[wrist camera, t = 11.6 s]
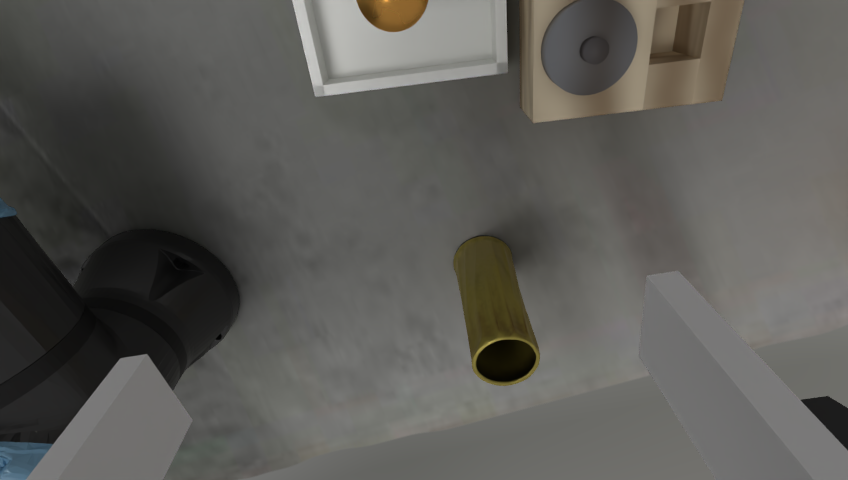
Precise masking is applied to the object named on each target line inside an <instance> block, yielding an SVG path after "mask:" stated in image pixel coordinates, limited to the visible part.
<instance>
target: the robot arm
mask: <svg viewBox="0 0 848 480" xmlns="http://www.w3.org/2000/svg"><path fill="white" fill-rule="evenodd" d="M16 214H17V212H16V210H15V209H14V208H13V207H10V206H7V204H6V203H5V202H4V201H3V200H2V199H1V198H0V480H163V478H164V476H165V474H166V472H167V470H168V468H169V466H170V464H171V462H172V460H173V458H174V456H175V454H176V452H177V450H178V448H179V446H180V444H181V442H182V440H183V438H184V436H185V434H186V432H187V430H188V428H189V426H190V424H191V423H192V421H193V420H192V419H191V417H190V416H189V414H188V413H187V411H186V410H185V408H184V407H183V405H182V404H181V403H180V401H179V400H178V398H177V397H176V395H175V394H174V392H173V390H174V388H175V386H176V384H177V383H178V381H179V379H180V378H181V376H182V374H183V373H184V371H185V370H186V369H187V368H188V367H190V366H191V365H192V364H193V363H195V362H196V361H197V360H198V359H199V358H201V357H202V356H203V355H204V354H206V353H207V352H208V351H209V350H210V349H211V348H213V347H214V346H216V345H217V344H218V343H219V342H220V341H221V340H222V339H223V338H224V337H225V335H226V334H227V333H228V331H229V329H230V327H231V326H232V324H233V322H234V320H235V318H236V316H237V313H238V309H239V295H238V290H237V287H236V285H235V282H234V280H233V278H232V276H231V275H230V273H229V272H228V270H227V269H226V268H225V267H224V265H223V264H222V263H221V262H220V261H219V260H218V259H217V258H216V257H215V256H214V255H212V254H211V253H210V252H208V251H207V250H206V249H204V248H203V247H201V246H199V245H198V244H196V243H194V242H192V241H190V240H188V239H186V238H183V237H181V236H178V235H175V234H171V233H167V232H163V231H156V230H134V231H129V232H124V233H121V234H119V235H116V236H114V237H112V238H111V239H109V240H108V241H106V242H105V243H104V244H103V245H101V246H100V247H99V248H98V249H97V250H95V251H94V252H93V253H92V254H91V255H90V256H89V257H88V258H87V260H86V261H85V262H84V264H83V266H82V268H81V271H80V273H79V276H78V279H77V281H76V283H75V285H74V287H72V286H71V284H70V283H69V282H68V281H67V279H66V278H65V277H64V276H63V274H62V273H61V272H60V271H59V269H58V268H57V267H56V266H55V264H54V263H53V262H52V261H51V259H50V258H49V257H48V256H47V254H46V253H45V252H44V251H43V249H42V248H41V247H40V246H39V244H38V243H37V242H36V241H35V239H34V238H33V237H32V236H31V234H30V233H29V232H28V231H27V229H26V228H25V227H24V226H23V224H22V223H21V222H20V220H19V219H18V218H17V216H16ZM639 357H640V358H641V360H642V362H643V363H644V365H645V366H646V368H647V370H648V371H649V373H650V374H651V376H652V378H653V379H654V381H655V382H656V384H657V386H658V387H659V389H660V390H661V392H662V394H663V395H664V397H665V399H666V400H667V402H668V403H669V405H670V407H671V408H672V410H673V412H674V413H675V414H676V416H677V418H678V419H679V421H680V423H681V424H682V426H683V428H684V429H685V431H686V433H687V434H688V436H689V437H690V439H691V441H692V442H693V444H694V445H695V447H696V449H697V450H698V452H699V453H700V455H701V457H702V458H703V460H704V462H705V463H706V465H707V466H708V468H709V470H710V471H711V473H712V474H713V476H714V478H715V479H716V480H848V408H847V407H845V406H843V405H842V404H840V403H838V402H837V401H835V400H833V399H832V398H830V397H828V396H826V397H818V398H811V399H803V400H800V399H799V398H798V397H797V396H796V395H795V394H794V393H793V392H792V391H791V390H790V389H789V388H788V387H787V386H786V385H785V383H784V382H782V380H781V379H780V378H779V377H778V376H777V375H776V374H775V373H774V372H773V371H772V370H771V369H770V368H769V367H768V366H767V364H766V363H765V362H764V361H763V360H762V359H761V358H760V357H759V356H758V355H757V354H756V353H755V352H754V351H753V350H752V348H751V347H750V346H749V345H748V344H747V343H746V342H745V341H744V340H743V339H742V338H741V337H740V336H739V335H738V334H737V333H736V332H735V330H734V329H733V328H732V327H731V326H730V325H729V324H728V323H727V322H726V321H725V320H724V319H723V318H722V317H721V316H720V315H719V314H718V312H717V311H716V310H715V309H714V308H713V307H712V306H711V305H710V304H709V303H708V302H707V301H706V300H705V299H704V298H703V297H702V295H701V294H700V293H699V292H698V291H697V290H696V289H695V288H694V287H693V286H692V285H691V284H690V283H689V282H688V281H687V280H686V279H685V277H684V276H683V275H682V274H681V273H680V272H679V271H674V272H667V273H661V274H655V275H648V276H647V277H646V287H645V297H644V307H643V317H642V327H641V337H640V347H639Z"/></svg>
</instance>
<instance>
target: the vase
mask: <svg viewBox="0 0 848 480" xmlns="http://www.w3.org/2000/svg"><path fill="white" fill-rule="evenodd" d="M454 270H455V272H456V275H457V279H458V285H459V290H460V294H461V299H462V305H463V311H464V317H465V322H466V328H467V334H468V341H469V347H470V352H471V359H472V368H473V371H474V373H475V374H476V375H477V376H478V377H479V378H480V379H482V380H483V381H485V382H487V383H490V384H494V385H499V386H507V385H513V384H516V383H519V382H522V381H524V380H526V379H527V378H528V377H530V376H531V375H532V374H533V373H534V371H535V370H536V368H537V367H538V365H539V360H540V353H539V347H538V344H537V341H536V338H535V335H534V332H533V330H532V327H531V324H530V321H529V317H528V314H527V312H526V309H525V306H524V303H523V299H522V296H521V293H520V289H519V286H518V281H517V277H516V272H515V268H514V265H513V261H512V253H511V251H510V249H509V247H508V246H507V245H506V244H505V243H504V242H502V241H501V240H499V239H497V238H494V237H490V236H480V237H475V238H472V239H470V240H468V241H466V242H465V243H464V244H462V245H461V246H460V248H459V249H458V251H457V252H456V254H455V256H454Z"/></svg>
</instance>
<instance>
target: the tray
mask: <svg viewBox="0 0 848 480" xmlns="http://www.w3.org/2000/svg"><path fill="white" fill-rule="evenodd" d="M292 1H293V6H294V10H295V14H296V18H297V22H298V26H299V31H300V35H301V39H302V43H303V47H304V52H305V56H306V60H307V64H308V68H309V72H310V77H311V81H312V85H313V89H314V93H315V97H320V96H328V95H336V94H344V93H352V92H360V91H368V90H376V89H383V88H391V87H399V86H407V85H415V84H423V83H431V82H439V81H447V80H455V79H463V78H471V77H479V76H487V75H495V74H503V73H508V58H507V9H506V0H428V4H427V7H426V9H425V12H424V13H423V15H422V17H421V18H420V19H419V21H418V22H417V23H416V24H414V25H413V26H412V27H410V28H408V29H406V30H403V31H400V32H387V31H383V30H381V29H378V28H376V27H375V26H373V25H372V24H371V23H370V22H369V21H368V20H367V19H366V18H365V17H364V16H363V14H362V12H361V11H360V9H359V7H358V4H357V1H356V0H292Z"/></svg>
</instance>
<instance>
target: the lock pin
mask: <svg viewBox="0 0 848 480" xmlns="http://www.w3.org/2000/svg"><path fill="white" fill-rule="evenodd" d="M356 1H357V4H358V7H359V9H360V11H361V12H362V14H363V16H364V17H365V18H366V19H367V20H368V21H369V22H370V23H371V24H372V25H373V26H375V27H376V28H378V29H381V30H383V31H387V32H400V31H403V30H406V29H408V28H410V27H412V26H413V25H414V24H416V23H417V22H418V21H419V19H420V18H421V17H422V15H423V13H424V12H425V9H426V7H427V4H428V0H356Z"/></svg>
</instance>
